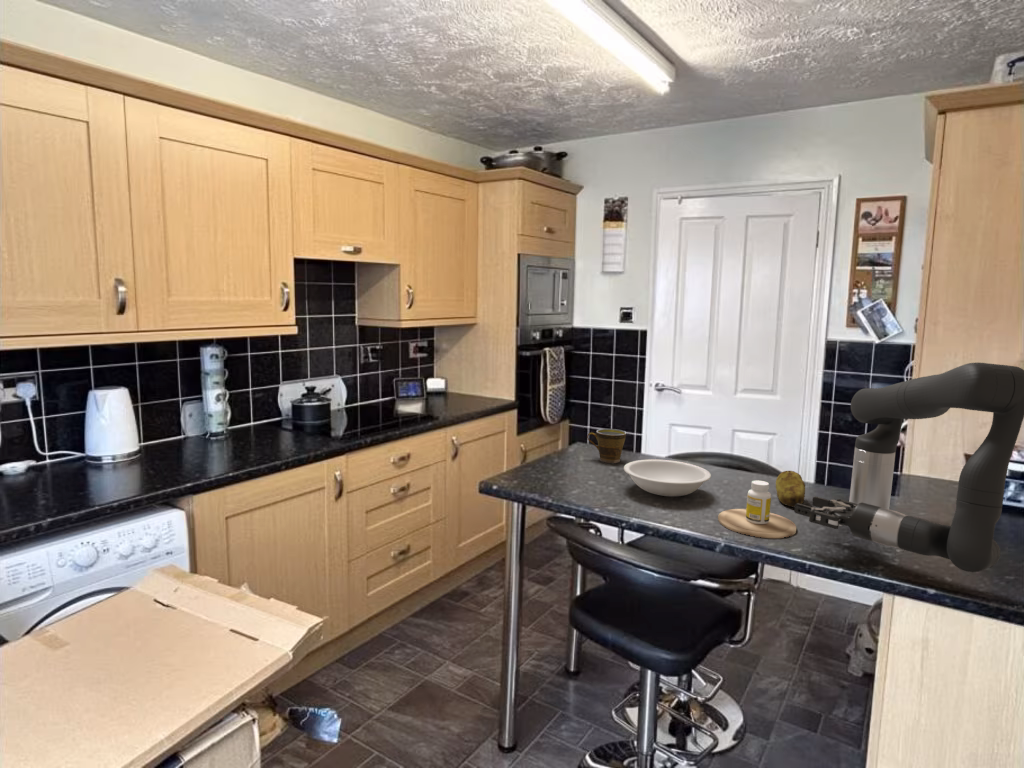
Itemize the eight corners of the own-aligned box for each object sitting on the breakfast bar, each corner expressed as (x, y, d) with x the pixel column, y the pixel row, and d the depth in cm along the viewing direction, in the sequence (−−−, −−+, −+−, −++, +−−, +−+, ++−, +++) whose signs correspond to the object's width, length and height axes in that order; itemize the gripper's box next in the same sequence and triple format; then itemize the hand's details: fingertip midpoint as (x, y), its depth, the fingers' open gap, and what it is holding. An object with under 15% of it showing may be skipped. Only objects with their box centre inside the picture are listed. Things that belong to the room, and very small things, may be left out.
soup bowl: (616, 499, 169) (617, 476, 168) (629, 476, 191) (630, 455, 190) (708, 511, 161) (710, 487, 160) (710, 486, 184) (711, 464, 183)
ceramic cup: (624, 457, 214) (625, 429, 212) (625, 465, 204) (627, 435, 203) (586, 455, 215) (587, 427, 214) (585, 463, 206) (587, 433, 204)
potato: (768, 505, 167) (771, 476, 166) (776, 493, 178) (779, 466, 177) (802, 511, 163) (805, 482, 162) (808, 498, 174) (811, 471, 173)
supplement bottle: (763, 517, 155) (766, 479, 154) (772, 525, 150) (776, 486, 148) (741, 516, 155) (745, 479, 153) (750, 524, 150) (754, 485, 148)
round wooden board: (742, 507, 165) (743, 504, 165) (809, 527, 151) (810, 524, 151) (703, 521, 154) (703, 517, 154) (772, 544, 140) (772, 540, 140)
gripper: (895, 501, 134) (820, 483, 147) (867, 515, 126) (790, 494, 138) (891, 534, 136) (817, 513, 148) (863, 550, 127) (787, 526, 139)
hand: (804, 504), depth 143 cm, fingers open, 8 cm apart
